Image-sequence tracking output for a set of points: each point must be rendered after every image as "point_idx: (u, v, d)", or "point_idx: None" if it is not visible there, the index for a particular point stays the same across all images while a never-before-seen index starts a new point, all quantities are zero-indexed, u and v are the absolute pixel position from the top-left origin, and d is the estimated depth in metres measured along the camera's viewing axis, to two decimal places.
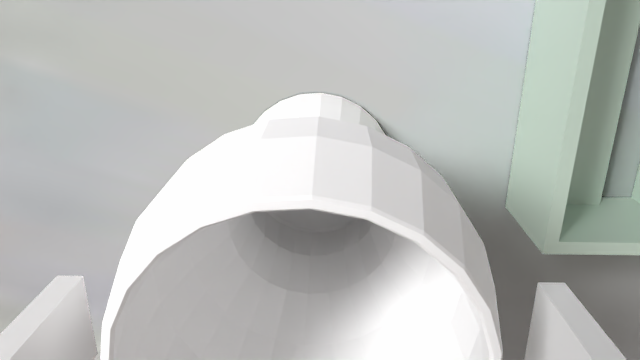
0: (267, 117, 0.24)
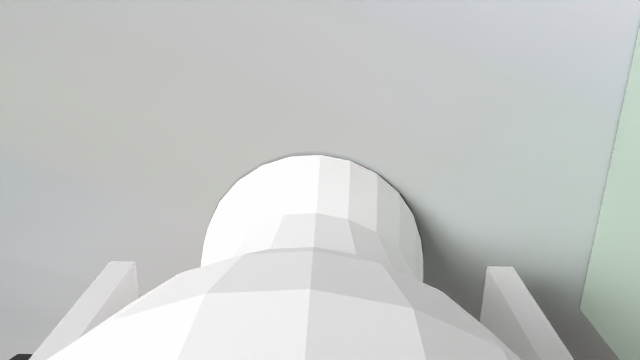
0: (240, 193, 0.16)
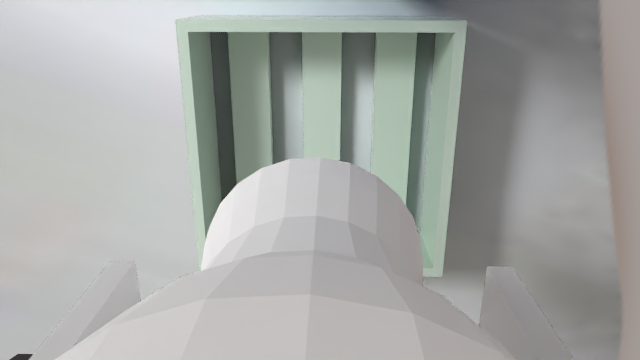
0: (240, 196, 0.16)
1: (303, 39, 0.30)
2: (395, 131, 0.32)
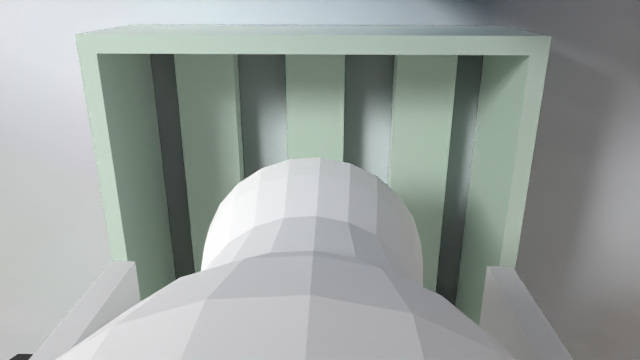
0: (240, 196, 0.16)
1: (287, 60, 0.20)
2: (422, 192, 0.22)
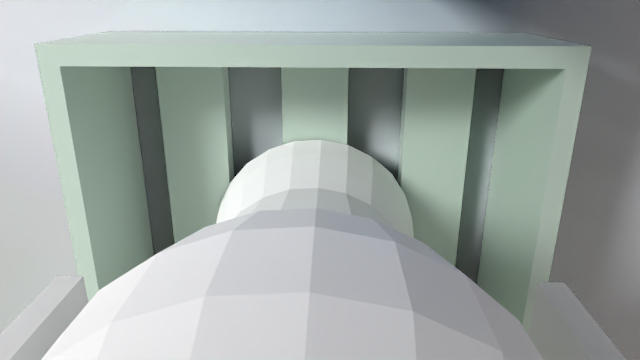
0: (249, 173, 0.18)
1: (283, 71, 0.18)
2: (435, 219, 0.20)
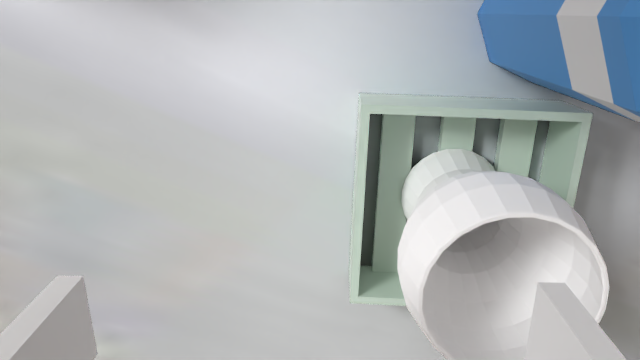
0: (428, 163, 0.37)
1: None
2: None
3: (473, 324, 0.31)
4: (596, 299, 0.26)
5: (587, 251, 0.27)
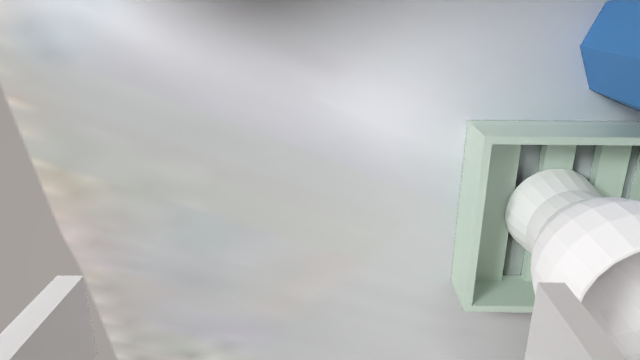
0: (535, 183, 0.41)
1: None
2: None
3: None
4: None
5: None
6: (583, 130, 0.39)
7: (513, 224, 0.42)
